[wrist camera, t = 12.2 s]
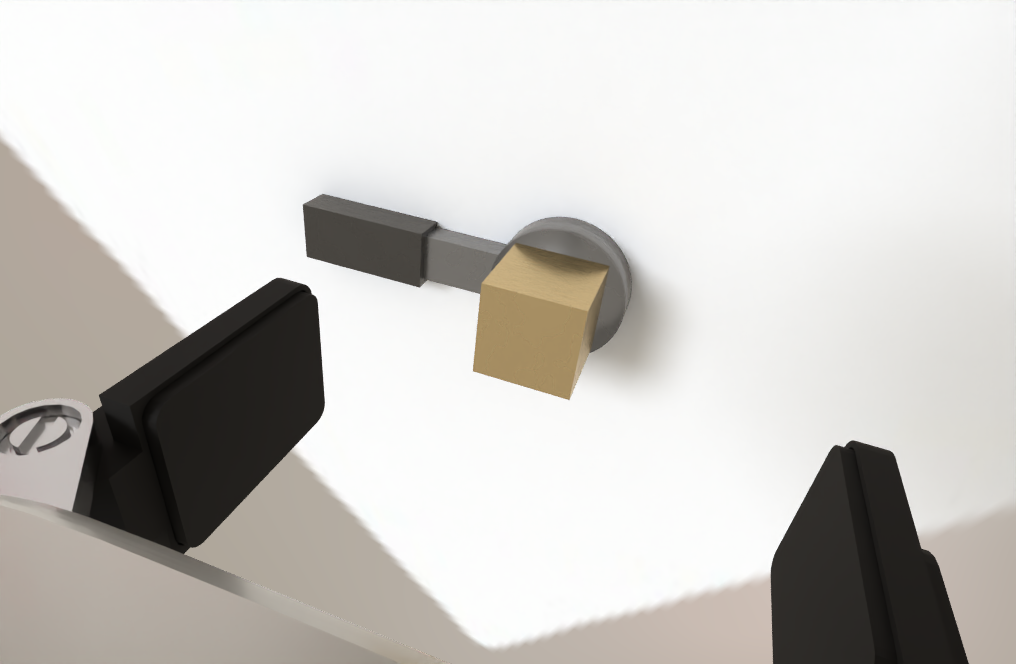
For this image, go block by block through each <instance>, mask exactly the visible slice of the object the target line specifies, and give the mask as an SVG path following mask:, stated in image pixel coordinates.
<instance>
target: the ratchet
mask: <svg viewBox="0 0 1016 664" xmlns="http://www.w3.org/2000/svg"><path fill="white" fill-rule="evenodd" d="M303 213H304V226H305V239H306V252H307V257H310V258H313V259H317V260H321V261H324V262H328V263H332V264H335V265H339V266H343V267H346V268H350V269H354V270H357V271H361V272H365V273H369V274H372V275H376V276H380V277H383V278H387V279H391V280H394V281H398V282H402V283H405V284H409V285H413V286H416V287H421V286H422V285H423V284H424V283H425V282H426V281H427V280H430V281H434V282H438V283H441V284H445V285H449V286H453V287H456V288H460V289H464V290H468V291H471V292H475V293H479V294H480V293H481V283H482V282H483V281H484V280H485V278H486V277H487V276H488V275H489V274H490V273H491V271H492V270H493V269H494V268H495V267H496V266H497V264H498V263H499V262H500V261H501V260H502V259H503V257H504V256H505V255H506V254H507V253H508V252H509V250H510V249H511V248H512V247H513V246H514V244H515V243H519V244H523V245H527V246H531V247H535V248H539V249H543V250H547V251H552V252H556V253H560V254H564V255H568V256H572V257H576V258H580V259H584V260H588V261H592V262H596V263H600V264H604V265H608V266H610V267H609V271H608V276H607V280H606V285H605V289H604V294H603V298H602V303H601V307H600V312H599V316H598V321H597V325H596V330H595V334H594V339H593V343H592V348H591V350H590V352H589V353H591V352H593V351H595V350H597V349H599V348H600V347H602V346H603V345H604V344H606V343H607V342H608V341H609V340H610V339H611V338H612V337H613V336H614V334H615V333H616V331H617V330H618V328H619V326H620V324H621V322H622V319H623V316H624V313H625V311H626V308H627V305H628V302H629V299H630V295H631V283H632V281H631V273H630V270H629V266H628V263H627V261H626V258H625V256H624V255H623V253H622V251H621V250H620V248H619V247H618V246H617V244H616V243H615V242H614V241H613V240H612V239H611V238H610V237H609V236H608V235H607V234H606V233H604V232H603V231H602V230H600V229H599V228H597V227H595V226H594V225H592V224H589V223H587V222H585V221H582V220H578V219H574V218H568V217H551V218H545V219H541V220H538V221H536V222H533V223H531V224H529V225H528V226H526V227H524V228H523V229H522V230H520V231H519V232H518V233H517V234H516V235H515V236H514V237H513V238H512V240H511V241H510V242H509V243H508V244H507V245H506V244H502V243H498V242H494V241H490V240H486V239H482V238H478V237H474V236H470V235H466V234H462V233H458V232H454V231H449V230H445V229H441V228H437V227H436V226H437V222H435V221H431V220H427V219H423V218H419V217H415V216H410V215H406V214H402V213H398V212H394V211H390V210H386V209H382V208H378V207H374V206H369V205H365V204H361V203H357V202H353V201H349V200H345V199H341V198H337V197H333V196H329V195H324V194H322V195H320V196H318V197H316V198H314V199H312V200H311V201H309V202H307V203H305V204H303Z"/></svg>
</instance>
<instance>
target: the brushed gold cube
mask: <svg viewBox="0 0 1016 664" xmlns="http://www.w3.org/2000/svg"><path fill="white" fill-rule="evenodd" d="M609 267H610V266H608V265H604V264H600V263H596V262H592V261H588V260H584V259H580V258H576V257H572V256H568V255H564V254H560V253H556V252H552V251H547V250H543V249H539V248H535V247H531V246H527V245H523V244H519V243H515V244H514V246H513V247H512V248H511V249H510V250H509V252H508V253H507V254H506V255H505V256H504V257H503V259H502V260H501V261H500V262H499V263H498V264H497V266H496V267H495V268H494V269H493V270H492V271H491V273H490V274H489V275H488V276H487V277H486V278H485V280H484V281H483V282H482V283H481V293H480V304H479V314H478V324H477V334H476V345H475V355H474V365H473V371H474V372H478V373H481V374H484V375H488V376H491V377H494V378H498V379H501V380H504V381H508V382H511V383H514V384H518V385H521V386H524V387H528V388H531V389H534V390H538V391H541V392H544V393H548V394H551V395H554V396H558V397H561V398H564V399H568V400H570V397H571V395H572V393H573V390H574V388H575V385H576V383H577V381H578V378H579V376H580V374H581V371H582V369H583V367H584V364H585V362H586V359H587V357H588V355H589V352H590V350H591V348H592V343H593V339H594V334H595V330H596V325H597V321H598V316H599V312H600V307H601V303H602V298H603V294H604V289H605V285H606V280H607V276H608V271H609Z"/></svg>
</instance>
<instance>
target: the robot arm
mask: <svg viewBox="0 0 1016 664" xmlns="http://www.w3.org/2000/svg"><path fill="white" fill-rule="evenodd" d="M99 397H100V400H101V403H102V406H101V407H100V408H98V409H97V410H96V411H94V412H92V411H91V409H90V408H89V407H88V406H87V405H86V404H84V403H81V402H80V401H77V400H72V399H65V398H61V399H60V398H59V399H46V400H40V401H35V402H31V403H28V404H25V405H22V406H19V407H17V408H14V409H12V410H10V411H9V412H6V413H4V414H3V415H1V416H0V664H450V663H447V662H445V661H443V660H440V659H438V658H435V657H433V656H431V655H428V654H425V653H423V652H421V651H418V650H416V649H414V648H411V647H409V646H406V645H404V644H402V643H399V642H397V641H394V640H392V639H389V638H387V637H385V636H382V635H380V634H377V633H375V632H373V631H370V630H368V629H365V628H363V627H360V626H358V625H355V624H353V623H351V622H348V621H346V620H343V619H341V618H338V617H336V616H334V615H331V614H329V613H326V612H324V611H322V610H319V609H317V608H314V607H312V606H309V605H307V604H305V603H302V602H300V601H297V600H295V599H292V598H290V597H288V596H285V595H282V594H280V593H278V592H275V591H273V590H270V589H268V588H265V587H263V586H260V585H258V584H256V583H253V582H251V581H248V580H246V579H243V578H241V577H238V576H236V575H234V574H231V573H228V572H226V571H224V570H221V569H219V568H216V567H214V566H211V565H209V564H206V563H204V562H202V561H199V560H197V559H194V558H192V557H189V556H187V555H184V553H185V552H186V551H187V550H188V549H189V548H190V547H192V548H193V547H197V546H199V545H200V544H202V543H203V542H204V541H205V540H206V539H207V538H208V537H209V536H210V535H211V534H212V533H213V532H214V530H215V529H216V528H217V527H218V526H219V525H220V524H221V523H222V522H223V521H224V520H225V519H226V518H227V517H228V516H229V515H230V514H231V513H232V512H233V510H234V509H235V508H236V507H237V506H238V505H239V504H240V503H241V502H242V501H243V500H244V499H245V498H246V497H247V495H249V494H250V492H251V491H252V490H253V489H254V488H255V487H256V486H257V485H258V484H259V483H260V482H261V481H262V480H263V479H264V478H265V477H266V476H267V475H268V474H269V472H270V471H271V470H272V469H273V468H274V467H275V466H276V465H277V464H278V463H279V462H280V461H281V460H282V459H283V458H284V457H285V456H286V455H287V453H288V452H289V451H290V450H291V449H292V448H293V447H294V446H295V445H296V444H297V443H298V442H299V441H300V440H301V439H302V438H303V437H304V436H305V435H306V433H307V432H308V431H309V430H310V429H311V428H312V427H313V426H314V425H315V424H316V423H317V422H318V421H319V419H320V418H321V416H322V413H323V411H324V406H325V399H324V385H323V371H322V357H321V342H320V328H319V314H318V302H317V298H316V297H315V296H314V295H312V293H311V290H310V288H309V287H308V286H307V285H304V284H301V283H297V282H294V281H290V280H287V279H283V278H276V279H274V280H272V281H271V282H269V283H268V284H266V285H265V286H263V287H262V288H260V289H259V290H257V291H256V292H254V293H252V294H251V295H249V296H248V297H246V298H245V299H243V300H242V301H240V302H239V303H237V304H236V305H234V306H233V307H231V308H230V309H228V310H227V311H225V312H224V313H222V314H221V315H219V316H218V317H216V318H215V319H213V320H212V321H210V322H209V323H207V324H206V325H204V326H203V327H201V328H200V329H198V330H197V331H195V332H194V333H192V334H191V335H189V336H188V337H186V338H185V339H183V340H182V341H180V342H178V343H177V344H175V345H174V346H172V347H171V348H169V349H168V350H166V351H165V352H163V353H162V354H161V355H159V356H157V357H156V358H154V359H153V360H151V361H150V362H149V363H147V364H145V365H144V366H142V367H141V368H139V369H138V370H136V371H135V372H133V373H132V374H130V375H129V376H127V377H126V378H124V379H123V380H121V381H120V382H118V383H117V384H115V385H114V386H112V387H111V388H109V389H107V390H106V391H105V392H103V393H101V394H100V395H99ZM771 602H772V640H773V664H969V663H968V660H967V657H966V653H965V650H964V647H963V644H962V640H961V637H960V634H959V631H958V627H957V624H956V621H955V617H954V614H953V611H952V608H951V605H950V601H949V598H948V595H947V591H946V588H945V585H944V581H943V578H942V575H941V572H940V568H939V565H938V563H937V561H936V559H935V557H934V556H933V555H932V554H931V553H930V552H929V551H927V550H923V549H921V546H920V543H919V539H918V536H917V532H916V529H915V525H914V522H913V518H912V514H911V511H910V507H909V504H908V500H907V497H906V493H905V490H904V486H903V483H902V479H901V476H900V472H899V469H898V465H897V462H896V458H895V456H894V454H893V453H892V452H891V451H889V450H885V449H882V448H878V447H875V446H871V445H868V444H864V443H861V442H857V441H854V440H853V441H850V442H849V443H847V444H846V446H845V447H841V446H838V445H835V446H834V447H833V448H832V449H831V450H830V452H829V454H828V456H827V458H826V459H825V461H824V463H823V465H822V467H821V469H820V471H819V472H818V474H817V476H816V478H815V480H814V482H813V484H812V485H811V487H810V489H809V491H808V493H807V495H806V497H805V498H804V500H803V502H802V504H801V506H800V508H799V510H798V511H797V513H796V515H795V517H794V519H793V521H792V523H791V524H790V526H789V528H788V530H787V532H786V534H785V536H784V537H783V539H782V541H781V543H780V545H779V547H778V549H777V550H776V553H775V555H774V558H773V562H772V566H771Z"/></svg>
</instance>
